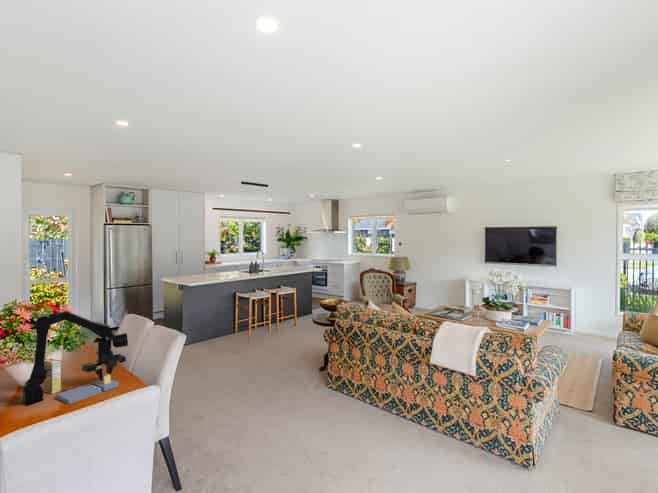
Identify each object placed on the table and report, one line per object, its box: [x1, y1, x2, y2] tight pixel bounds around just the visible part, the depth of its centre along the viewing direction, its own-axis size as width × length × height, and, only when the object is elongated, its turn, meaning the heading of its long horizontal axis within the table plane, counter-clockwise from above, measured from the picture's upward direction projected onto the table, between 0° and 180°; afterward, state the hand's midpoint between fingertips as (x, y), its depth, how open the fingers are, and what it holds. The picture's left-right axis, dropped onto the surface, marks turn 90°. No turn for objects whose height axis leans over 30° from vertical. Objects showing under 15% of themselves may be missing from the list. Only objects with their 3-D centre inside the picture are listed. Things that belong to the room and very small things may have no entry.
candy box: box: [41, 358, 62, 395], centre depth 173 cm, size 9×4×15 cm, turn 66°
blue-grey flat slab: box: [55, 383, 102, 405], centre depth 168 cm, size 14×12×2 cm
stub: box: [90, 372, 120, 392], centre depth 178 cm, size 7×12×6 cm, turn 60°
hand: (104, 379), depth 178 cm, fingers closed on stub, 3 cm apart
